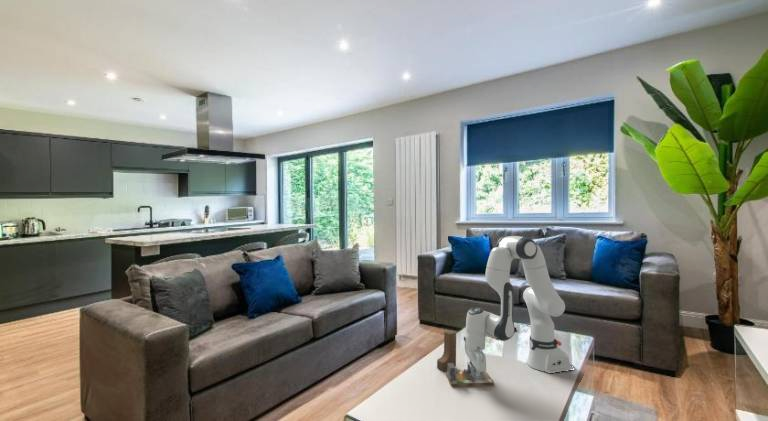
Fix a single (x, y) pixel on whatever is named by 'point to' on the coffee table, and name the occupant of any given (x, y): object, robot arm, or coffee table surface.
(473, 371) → the block
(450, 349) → the wooden block
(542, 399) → the coffee table surface
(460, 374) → the amber brick
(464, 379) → the bench
